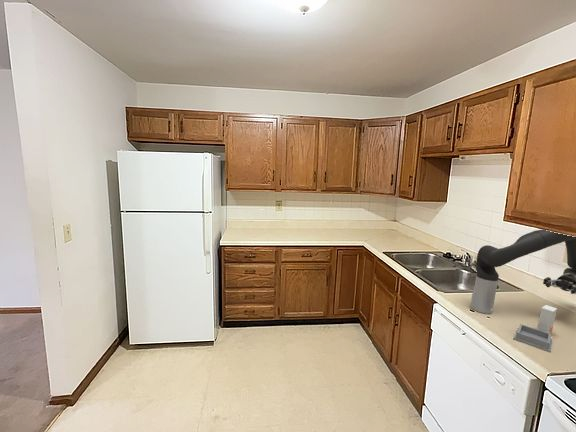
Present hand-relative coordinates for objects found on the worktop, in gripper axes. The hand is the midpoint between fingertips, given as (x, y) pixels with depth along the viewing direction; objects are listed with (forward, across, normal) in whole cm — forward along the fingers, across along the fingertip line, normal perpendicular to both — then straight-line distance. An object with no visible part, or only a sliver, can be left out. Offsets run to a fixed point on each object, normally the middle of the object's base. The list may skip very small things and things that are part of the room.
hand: (559, 288), depth 138 cm
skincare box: (+11, 0, +19) cm, 22 cm away
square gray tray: (+24, -1, +19) cm, 30 cm away
